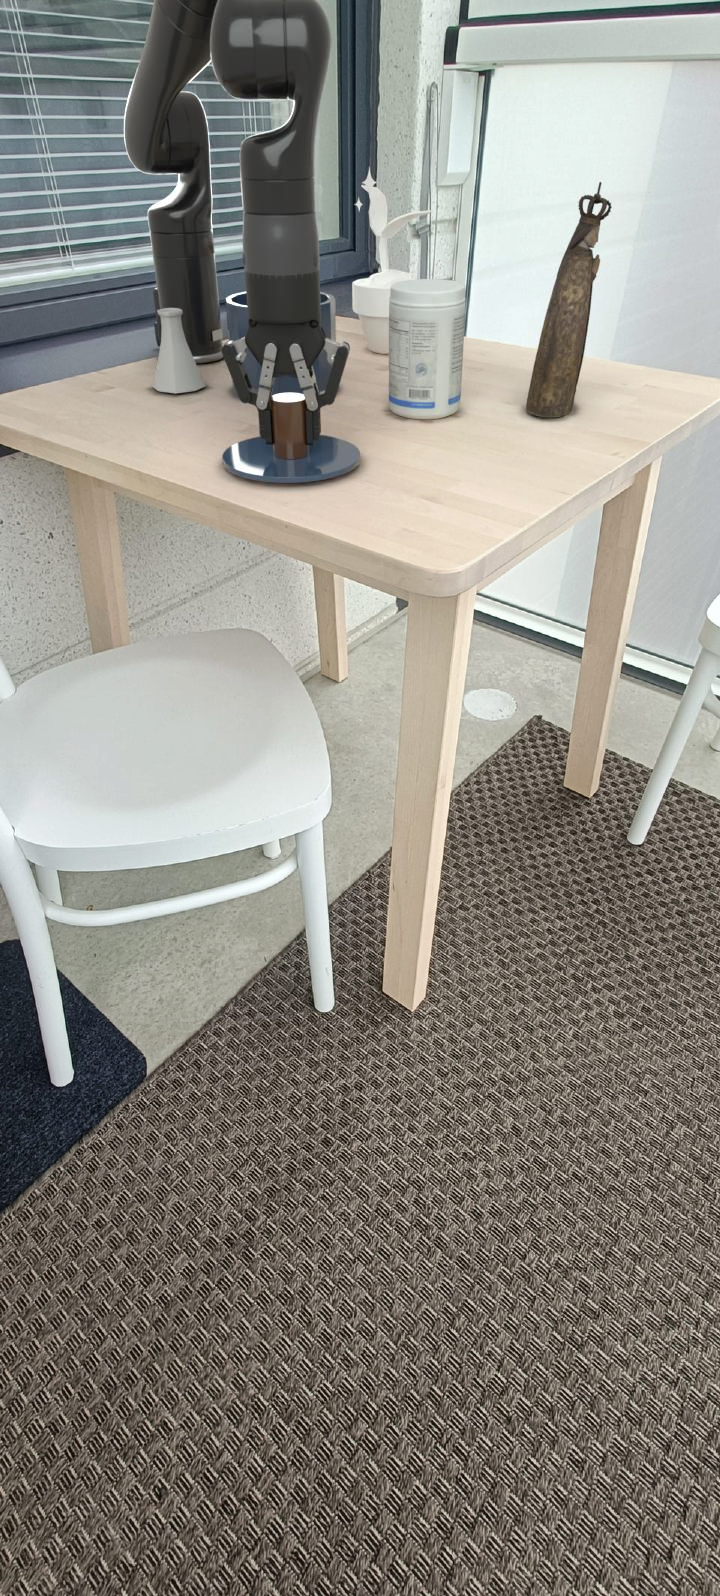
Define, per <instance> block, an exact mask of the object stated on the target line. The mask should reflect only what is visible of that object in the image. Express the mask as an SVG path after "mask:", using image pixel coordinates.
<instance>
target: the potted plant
mask: <svg viewBox="0 0 720 1596" xmlns="http://www.w3.org/2000/svg"><path fill="white" fill-rule="evenodd" d="M377 183H378V182H377V181H375V180H374V179H373V177H372V174H371V167H370V166H368V173H367V176H366V179H365V180H364V181H362V182H361V188H363V189H364V190H365V191H366V192H367V194H368V198H369V201H370V202H369V207H368V208H369V209H368V220H369V227H370V230H371V231H372V232H373V234H374V236H375V237H379V241H378V253H379V262H380V270H381V271H380V272H376V273H372V274H371V275H369V277H366V278H365V277H364V278H359V279H356V280H354V281H352V282H351V285H352V286H351V287H352V288H351V289H352V292H351V293H352V294H351V295H352V297H351V298H352V299H351V302H352V307H351V308H352V311H353V312H354V313H355V314H357V315H358V320H359V322H360V326H361V329H362V333H363V337H364V340H365V343H366V347H367V348H368V350H369V351H370V352H372V353H375V354H382V355H389V302H390V301H389V298H390V288H391V285H392V284H394V283H396V282H400V281H406V280H414V279H415V278H413V277H412V275H411V272H407V271H403V270H398V269H395V268H390V267H389V265H390V259H389V243H388V240H389V239H390V240H391V239H393V238H394V236H395V235H396V234H398V232H399V231H401V229H403V227H404V226H406V224H408V223H409V222H410V221H412V220H414V219H416V218H418V217H421V216H427V215H429V214H430V213H431V212H432V210H431V209H427V210H421V211H413V212H411V211H410V212H408V213H405V214H402V215H399V216H397V217H395V218H394V219H392V220H391V221H389V222H388V209H389V207H388V204H387V197H386V195H385V194H384V193H383V191H382V190H380V189H379V188H378V187H376V186H374V185H375V184H377ZM363 205H364V204H363V203H362V202H361V200H360V197H358V198H357V202H356V203H354V206H356V207H357V210H358V212H360V209H361V207H362V206H363Z"/></svg>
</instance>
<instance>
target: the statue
mask: <svg viewBox="0 0 720 1596" xmlns="http://www.w3.org/2000/svg"><path fill="white" fill-rule="evenodd" d="M601 187H602V182H601V181H600V182H599V183H598V187H597V191H596V193H594V194H593V195H591V194H584V195H583V196H581V197H580V199H579V200H578V204H577V206H578V211H579V215H580V218H579V220H578V223H577V226H576V227H575V230H574V232H573V234H572V236H571V238H570V239H569V243H568V245H567V247H566V249H565V252H564V254H563V256H562V259H561V262H560V264H559V267H558V271H557V273H556V278H555V281H554V284H553V287H552V291H551V295H550V298H549V302H548V306H547V309H546V313H545V316H544V320H543V323H542V324H543V325H542V329H541V332H540V337H539V340H538V341H539V342H538V346H537V351H536V353H535V359H534V363H533V367H532V368H533V369H532V373H531V378H530V382H529V387H528V393H527V398H526V402H525V403H526V404H525V407H526V409H525V410H526V411H527V412H528V413H530V414H531V415H533V416H537V417H540V418H549V419H550V418H551V419H552V418H553V419H554V418H562V417H563V416H564V417H565V416H567V415H569V413H572V410H573V406H574V404H575V396H576V393H577V386H578V384H579V383H578V382H579V379H580V374H581V370H582V366H583V360H584V355H585V350H586V343H587V336H588V330H589V322H590V317H591V306H592V296H593V285H594V281H595V279H596V278H597V273H598V272H599V268H600V265H601V259H600V254H598V253H597V254H596V255H595V257H594V253H593V249H594V248H595V246H596V244H597V243H599V233H600V227H601V221H602V220H605V218H606V217H609V215H610V213H611V209H612V203H611V202H610V200H609V199H608V200H607V198H605V197H602V195H601V193H600V192H601ZM585 200H588V203H587V209H586V212H585V211H584V201H585ZM599 204H601V208H600V210H599V212H598V214H594V213H593V211H594V207H595V205H599Z"/></svg>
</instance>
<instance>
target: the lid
mask: <svg viewBox="0 0 720 1596" xmlns="http://www.w3.org/2000/svg"><path fill="white" fill-rule="evenodd" d="M270 402H271V418H272V434H273V445H266V439H262V438H261V436H260V435H259V436H254V437H251V438H247V439H244V440H241V441H237V442H236V443H234V444H232V445H230V446H228V447H226V448H225V450H224V451H223V452H222V455H221V457H222V458H221V460H222V465H223V467H224V469H226V470H227V471H228V472H230V473H231V474H233V475H235V476H238V477H241V478H244V479H247V480H252V481H258V482H264V483H276V484H296V483H308V482H309V483H310V482H317V481H324V480H328V479H332V478H335V477H339V476H342V475H344V474H347V473H349V472H351V471H353V470H354V469H355V468H357V467H358V465H359V464H360V462H361V451H360V449H359V448H358V447H357V446H356V445H355V444H353V443H352V442H349V441H348V440H345V439H342V438H339V437H335V436H330V435H325V434H320V436H319V438H318V440H315V443H314V446H310V445H307V434H306V410H307V408H308V407H307V404H306V401H305V397H304V395H303V394H300V393H280V394H275V395H273V396H271V398H270Z"/></svg>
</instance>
